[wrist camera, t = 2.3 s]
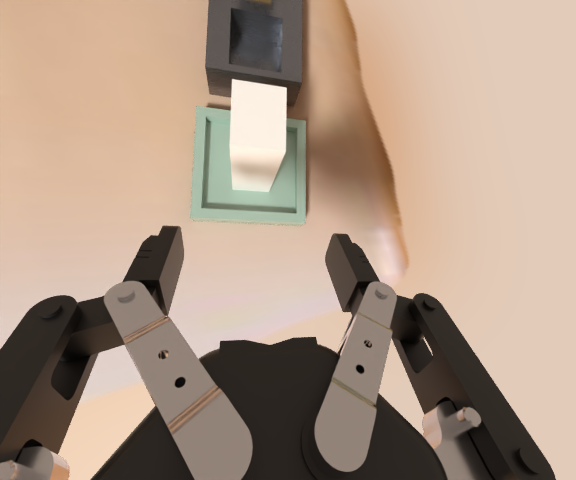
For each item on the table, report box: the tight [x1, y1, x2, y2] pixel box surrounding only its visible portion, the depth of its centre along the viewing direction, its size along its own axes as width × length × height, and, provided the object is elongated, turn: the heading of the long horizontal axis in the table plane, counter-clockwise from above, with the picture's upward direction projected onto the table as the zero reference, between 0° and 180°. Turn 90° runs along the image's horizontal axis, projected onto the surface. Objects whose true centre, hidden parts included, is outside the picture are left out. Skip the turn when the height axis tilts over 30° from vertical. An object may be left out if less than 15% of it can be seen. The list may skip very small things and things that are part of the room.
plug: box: [229, 79, 287, 192], centre depth 23 cm, size 4×5×10 cm
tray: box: [190, 106, 306, 226], centre depth 27 cm, size 12×12×2 cm
